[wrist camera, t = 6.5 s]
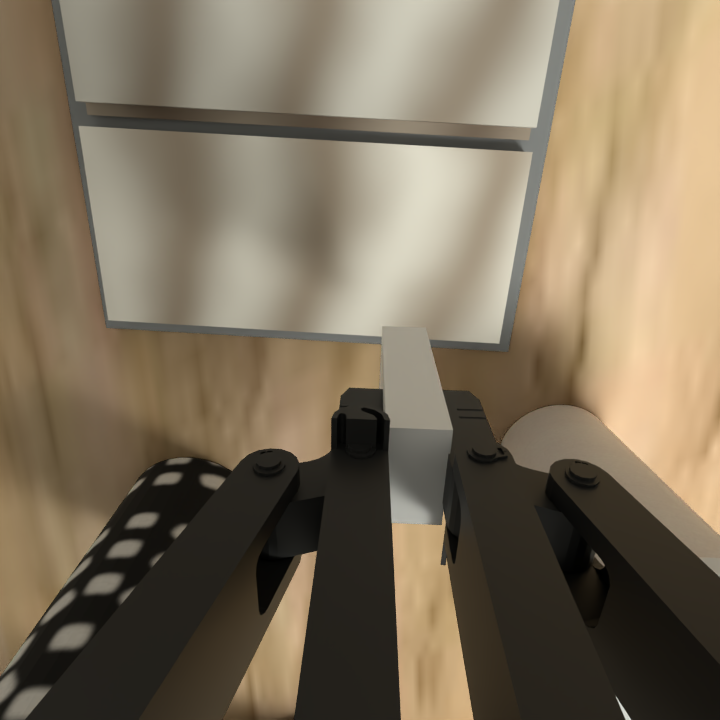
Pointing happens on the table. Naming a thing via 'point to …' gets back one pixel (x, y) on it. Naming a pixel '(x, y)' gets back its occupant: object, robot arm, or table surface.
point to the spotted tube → (108, 576)
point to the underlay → (534, 144)
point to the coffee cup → (608, 471)
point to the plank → (304, 232)
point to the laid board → (316, 62)
